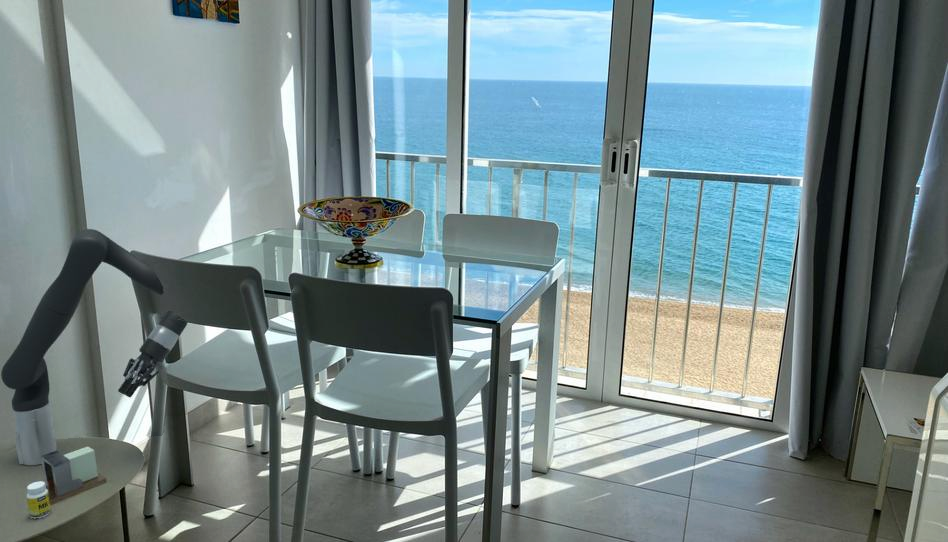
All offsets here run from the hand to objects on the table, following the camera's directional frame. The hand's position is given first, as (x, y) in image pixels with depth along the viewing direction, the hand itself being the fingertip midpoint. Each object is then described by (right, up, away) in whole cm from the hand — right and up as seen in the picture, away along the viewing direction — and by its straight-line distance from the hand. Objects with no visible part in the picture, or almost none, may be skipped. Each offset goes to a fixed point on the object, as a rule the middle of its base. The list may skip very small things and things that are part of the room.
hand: (124, 394), depth 204 cm
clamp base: (-11, -25, -9) cm, 28 cm away
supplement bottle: (-11, -28, -21) cm, 37 cm away
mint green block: (-9, -23, -7) cm, 25 cm away
